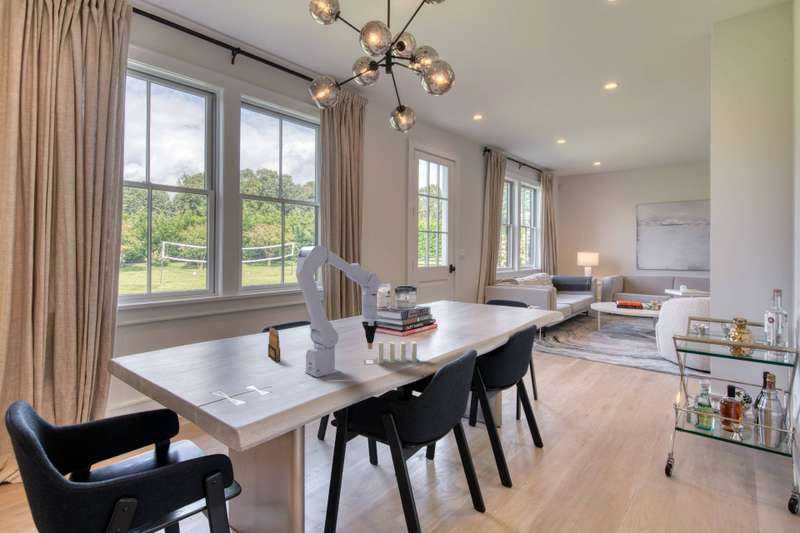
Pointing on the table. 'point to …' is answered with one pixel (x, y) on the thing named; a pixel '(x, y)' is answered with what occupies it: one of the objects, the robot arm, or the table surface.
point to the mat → (386, 361)
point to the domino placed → (369, 345)
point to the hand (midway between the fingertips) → (369, 341)
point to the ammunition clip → (274, 345)
